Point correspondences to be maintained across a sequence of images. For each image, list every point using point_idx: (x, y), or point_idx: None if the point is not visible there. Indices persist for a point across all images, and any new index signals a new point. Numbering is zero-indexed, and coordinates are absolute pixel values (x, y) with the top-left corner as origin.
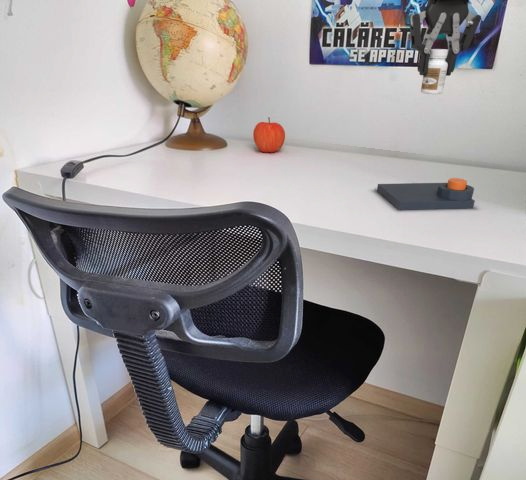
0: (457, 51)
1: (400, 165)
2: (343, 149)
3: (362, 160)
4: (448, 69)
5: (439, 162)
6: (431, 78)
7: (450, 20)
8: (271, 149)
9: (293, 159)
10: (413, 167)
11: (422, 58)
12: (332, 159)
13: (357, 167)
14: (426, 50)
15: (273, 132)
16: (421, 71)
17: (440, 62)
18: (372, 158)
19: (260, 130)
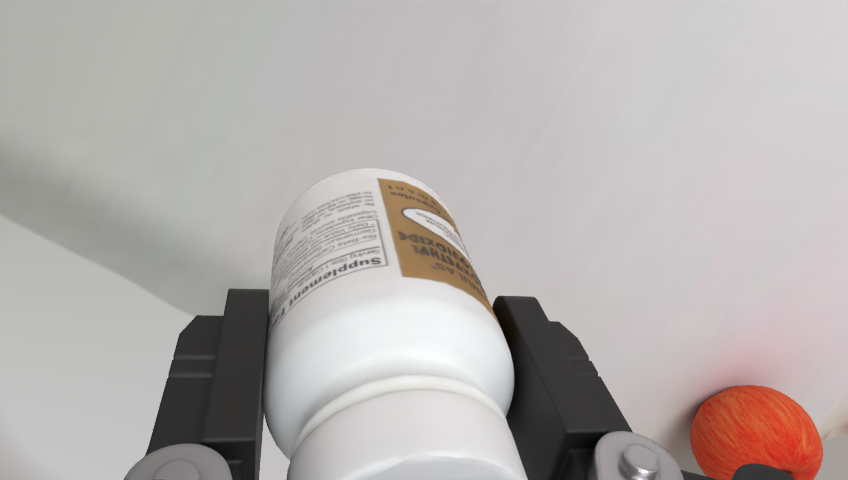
0: (155, 471)
1: None
2: None
3: None
4: (265, 318)
5: (142, 233)
6: (453, 247)
7: None
8: (746, 386)
9: (710, 311)
10: (313, 159)
11: (613, 409)
12: (580, 305)
13: (555, 184)
14: (648, 454)
15: (785, 422)
16: (551, 325)
17: (414, 333)
18: None
19: (818, 436)
